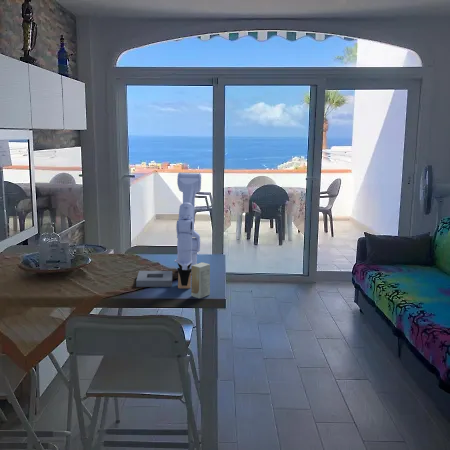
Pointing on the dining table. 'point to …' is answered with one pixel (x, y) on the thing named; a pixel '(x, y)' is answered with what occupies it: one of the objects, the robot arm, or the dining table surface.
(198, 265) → the skincare box
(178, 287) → the plug
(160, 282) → the socket
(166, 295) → the dining table surface
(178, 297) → the dining table surface
